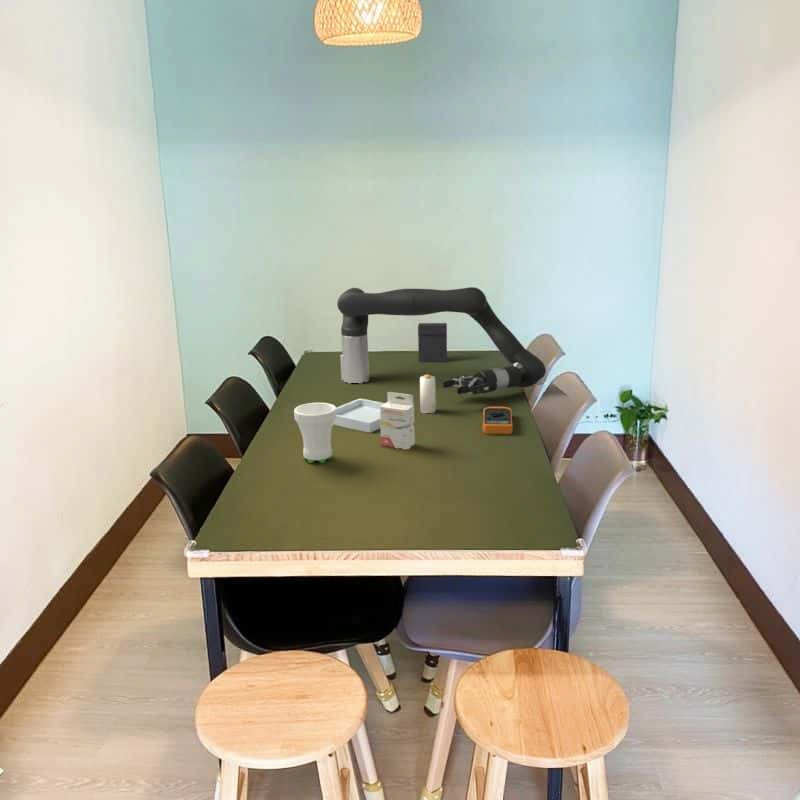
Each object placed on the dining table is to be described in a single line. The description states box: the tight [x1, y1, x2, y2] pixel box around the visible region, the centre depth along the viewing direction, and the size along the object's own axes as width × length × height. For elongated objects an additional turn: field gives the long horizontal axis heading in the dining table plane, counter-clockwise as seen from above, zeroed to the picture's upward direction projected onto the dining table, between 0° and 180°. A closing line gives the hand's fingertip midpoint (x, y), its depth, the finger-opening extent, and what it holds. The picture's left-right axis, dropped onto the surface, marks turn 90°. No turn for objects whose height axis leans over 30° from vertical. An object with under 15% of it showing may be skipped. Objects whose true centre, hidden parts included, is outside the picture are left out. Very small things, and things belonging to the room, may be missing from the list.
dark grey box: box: [417, 322, 448, 363], centre depth 308 cm, size 11×4×15 cm, turn 84°
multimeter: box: [482, 406, 514, 435], centre depth 235 cm, size 9×18×3 cm, turn 173°
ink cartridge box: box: [380, 391, 416, 450], centre depth 218 cm, size 9×5×15 cm, turn 65°
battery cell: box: [419, 374, 437, 414], centre depth 248 cm, size 5×5×12 cm
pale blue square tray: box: [333, 398, 386, 434], centre depth 243 cm, size 18×18×3 cm
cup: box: [293, 402, 337, 464], centre depth 210 cm, size 11×11×14 cm
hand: (450, 387), depth 251 cm, fingers open, 8 cm apart
